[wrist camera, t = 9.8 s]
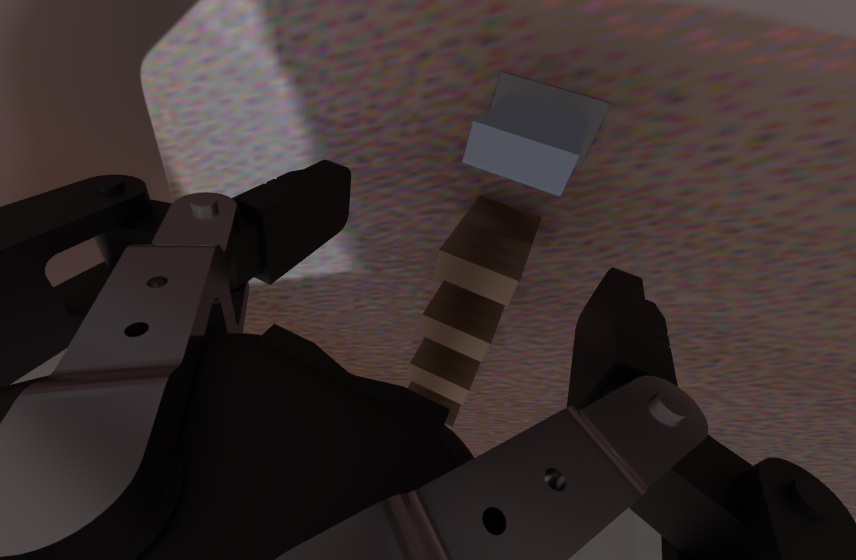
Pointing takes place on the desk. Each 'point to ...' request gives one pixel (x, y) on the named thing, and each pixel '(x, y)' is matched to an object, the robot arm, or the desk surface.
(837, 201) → the desk surface
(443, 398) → the tile
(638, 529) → the skincare box
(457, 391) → the tile
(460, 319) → the tile
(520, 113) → the blue-grey rectangular block
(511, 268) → the tile
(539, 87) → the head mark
